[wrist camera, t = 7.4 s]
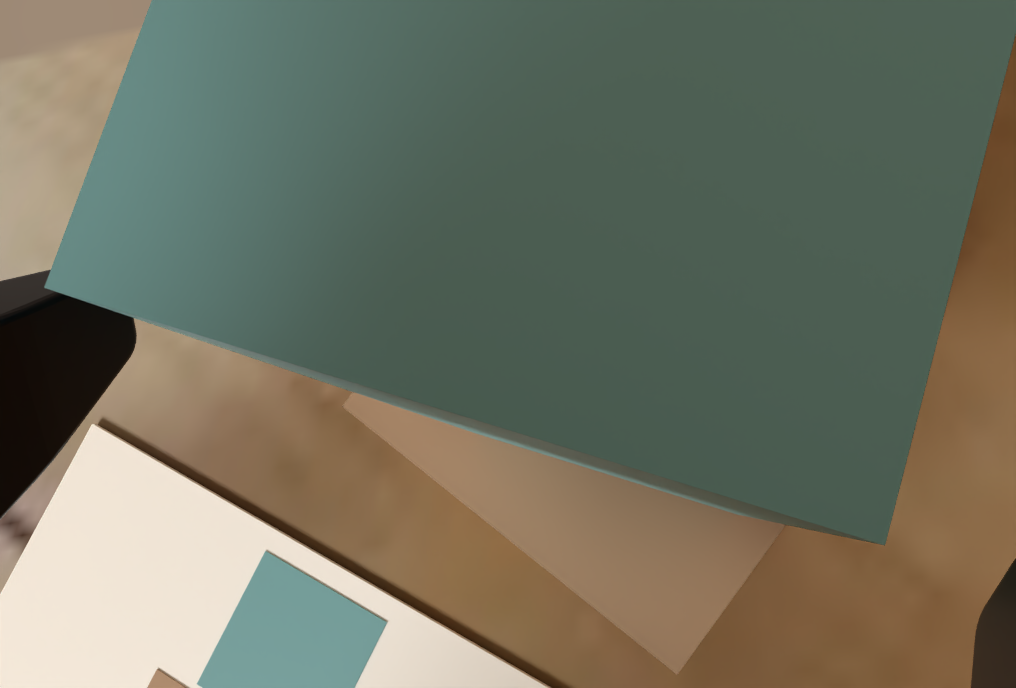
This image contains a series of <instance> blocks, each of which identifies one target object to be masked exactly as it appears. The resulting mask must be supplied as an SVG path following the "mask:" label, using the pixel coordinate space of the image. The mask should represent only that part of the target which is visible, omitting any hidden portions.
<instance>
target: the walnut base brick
mask: <svg viewBox="0 0 1016 688" xmlns="http://www.w3.org/2000/svg"><path fill="white" fill-rule="evenodd" d="M342 407H343V408H345V409H346V410H347V411H348V412H350V413H351V414H352V415H353V416H355V417H356V418H357V419H358V420H360V421H361V422H362V423H363V424H365V425H366V426H367V427H368V428H370V429H371V430H372V431H373V432H375V433H376V434H377V435H378V436H380V437H381V438H382V439H383V440H385V441H386V442H387V443H388V444H390V445H391V446H392V447H393V448H395V449H396V450H397V451H398V452H400V453H401V454H402V455H403V456H405V457H406V458H407V459H408V460H410V461H411V462H412V463H413V464H415V465H416V466H417V467H418V468H420V469H421V470H422V471H423V472H425V473H426V474H427V475H428V476H430V477H431V478H432V479H433V480H435V481H436V482H437V483H438V484H440V485H441V486H442V487H443V488H445V489H446V490H447V491H448V492H450V493H451V494H452V495H453V496H455V497H456V498H457V499H458V500H460V501H461V502H462V503H463V504H465V505H466V506H467V507H468V508H470V509H471V510H472V511H473V512H474V513H476V514H477V515H478V516H479V517H481V518H482V519H483V520H484V521H486V522H487V523H488V524H489V525H491V526H492V527H493V528H494V529H496V530H497V531H498V532H499V533H501V534H502V535H503V536H504V537H506V538H507V539H508V540H509V541H511V542H512V543H513V544H514V545H516V546H517V547H518V548H519V549H521V550H522V551H523V552H524V553H526V554H527V555H528V556H529V557H531V558H532V559H533V560H534V561H536V562H537V563H538V564H539V565H541V566H542V567H543V568H544V569H546V570H547V571H548V572H549V573H551V574H552V575H553V576H554V577H556V578H557V579H558V580H559V581H561V582H562V583H563V584H564V585H566V586H567V587H568V588H569V589H571V590H572V591H573V592H574V593H576V594H577V595H578V596H579V597H581V598H582V599H583V600H584V601H586V602H587V603H588V604H589V605H591V606H592V607H593V608H594V609H596V610H597V611H598V612H599V613H601V614H602V615H603V616H604V617H606V618H607V619H608V620H609V621H611V622H612V623H613V624H614V625H615V626H617V627H618V628H619V629H620V630H622V631H623V632H624V633H625V634H627V635H628V636H629V637H630V638H632V639H633V640H634V641H635V642H637V643H638V644H639V645H640V646H642V647H643V648H644V649H645V650H647V651H648V652H649V653H650V654H652V655H653V656H654V657H655V658H657V659H658V660H659V661H660V662H662V663H663V664H664V665H665V666H667V667H668V668H669V669H670V670H672V671H673V672H674V673H675V674H677V675H678V673H679V672H680V670H681V669H682V668H683V666H684V665H685V663H686V662H687V661H688V659H689V658H690V657H691V655H692V654H693V652H694V651H695V650H696V648H697V647H698V646H699V644H700V643H701V641H702V640H703V639H704V637H705V636H706V634H707V633H708V632H709V630H710V629H711V628H712V626H713V625H714V623H715V622H716V621H717V619H718V618H719V617H720V615H721V614H722V612H723V611H724V610H725V608H726V607H727V605H728V604H729V603H730V601H731V600H732V599H733V597H734V596H735V594H736V593H737V592H738V590H739V589H740V588H741V586H742V585H743V583H744V582H745V581H746V579H747V578H748V576H749V575H750V574H751V572H752V571H753V570H754V568H755V567H756V565H757V564H758V563H759V561H760V560H761V559H762V557H763V556H764V554H765V553H766V552H767V550H768V549H769V547H770V546H771V545H772V543H773V542H774V541H775V539H776V538H777V536H778V535H779V534H780V532H781V531H782V530H783V528H784V527H785V524H780V523H776V522H771V521H766V520H761V519H756V518H752V517H747V516H742V515H737V514H734V513H731V512H728V511H724V510H721V509H718V508H715V507H711V506H708V505H705V504H702V503H699V502H695V501H692V500H689V499H686V498H682V497H679V496H676V495H673V494H670V493H666V492H663V491H660V490H657V489H653V488H650V487H647V486H644V485H641V484H637V483H634V482H631V481H628V480H624V479H621V478H618V477H615V476H612V475H608V474H605V473H602V472H599V471H595V470H592V469H589V468H586V467H583V466H579V465H576V464H573V463H570V462H566V461H563V460H560V459H557V458H554V457H550V456H547V455H544V454H541V453H537V452H534V451H531V450H528V449H524V448H521V447H518V446H515V445H512V444H508V443H505V442H502V441H499V440H495V439H492V438H489V437H486V436H483V435H479V434H476V433H473V432H470V431H467V430H464V429H461V428H458V427H455V426H452V425H450V424H447V423H444V422H441V421H438V420H435V419H432V418H429V417H426V416H423V415H420V414H417V413H414V412H411V411H408V410H405V409H402V408H399V407H396V406H393V405H390V404H387V403H384V402H381V401H378V400H375V399H373V398H370V397H367V396H364V395H361V394H358V393H355V392H353V393H352V394H351V395H350V397H349V398H348V399H347V401H346V402H345V403H344V405H343V406H342Z"/></svg>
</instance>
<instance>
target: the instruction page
mask: <svg viewBox="0 0 1016 688" xmlns="http://www.w3.org/2000/svg"><path fill="white" fill-rule="evenodd" d="M0 688H551V687H550V686H548V685H546V684H545V683H543V682H541V681H539V680H538V679H536V678H534V677H532V676H531V675H529V674H527V673H526V672H524V671H522V670H520V669H519V668H517V667H515V666H513V665H512V664H510V663H508V662H507V661H505V660H503V659H501V658H500V657H498V656H496V655H494V654H493V653H491V652H489V651H487V650H486V649H484V648H482V647H481V646H479V645H477V644H475V643H474V642H472V641H470V640H468V639H467V638H465V637H463V636H462V635H460V634H458V633H456V632H455V631H453V630H451V629H449V628H448V627H446V626H444V625H443V624H441V623H439V622H437V621H436V620H434V619H432V618H430V617H429V616H427V615H425V614H424V613H422V612H420V611H418V610H417V609H415V608H413V607H411V606H410V605H408V604H406V603H405V602H403V601H401V600H399V599H398V598H396V597H394V596H392V595H391V594H389V593H387V592H386V591H384V590H382V589H380V588H379V587H377V586H375V585H373V584H372V583H370V582H368V581H366V580H365V579H363V578H361V577H360V576H358V575H356V574H354V573H353V572H351V571H349V570H347V569H346V568H344V567H342V566H341V565H339V564H337V563H335V562H334V561H332V560H330V559H328V558H327V557H325V556H323V555H322V554H320V553H318V552H316V551H315V550H313V549H311V548H309V547H308V546H306V545H304V544H303V543H301V542H299V541H297V540H296V539H294V538H292V537H290V536H289V535H287V534H285V533H284V532H282V531H280V530H278V529H277V528H275V527H273V526H271V525H270V524H268V523H266V522H265V521H263V520H261V519H259V518H258V517H256V516H254V515H252V514H251V513H249V512H247V511H246V510H244V509H242V508H240V507H239V506H237V505H235V504H233V503H232V502H230V501H228V500H226V499H225V498H223V497H221V496H220V495H218V494H216V493H214V492H213V491H211V490H209V489H207V488H206V487H204V486H202V485H201V484H199V483H197V482H195V481H194V480H192V479H190V478H188V477H187V476H185V475H183V474H182V473H180V472H178V471H176V470H175V469H173V468H171V467H169V466H168V465H166V464H164V463H163V462H161V461H159V460H157V459H156V458H154V457H152V456H150V455H149V454H147V453H145V452H144V451H142V450H140V449H138V448H137V447H135V446H133V445H131V444H130V443H128V442H126V441H125V440H123V439H121V438H119V437H118V436H116V435H114V434H112V433H111V432H109V431H107V430H105V429H104V428H102V427H100V426H99V425H97V424H92V425H91V427H90V429H89V431H88V433H87V435H86V436H85V438H84V440H83V442H82V444H81V446H80V448H79V449H78V451H77V453H76V455H75V457H74V459H73V461H72V462H71V464H70V466H69V468H68V470H67V472H66V474H65V475H64V477H63V479H62V481H61V483H60V485H59V486H58V488H57V490H56V492H55V494H54V496H53V498H52V499H51V501H50V503H49V505H48V507H47V509H46V511H45V512H44V514H43V516H42V518H41V520H40V522H39V524H38V525H37V527H36V529H35V531H34V533H33V535H32V537H31V538H30V540H29V542H28V544H27V546H26V548H25V549H24V551H23V553H22V555H21V557H20V559H19V561H18V562H17V564H16V566H15V568H14V570H13V572H12V574H11V575H10V577H9V579H8V581H7V583H6V585H5V587H4V588H3V590H2V592H1V594H0Z"/></svg>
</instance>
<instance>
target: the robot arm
mask: <svg viewBox="0 0 1016 688" xmlns="http://www.w3.org/2000/svg"><path fill="white" fill-rule="evenodd" d="M50 271H51V270H47V271H43V272H38V273H34V274H30V275H25V276H21V277H16V278H12V279H8V280H3V281H0V519H1V518H2V517H3V516H4V515H5V514H6V513H7V512H8V510H9V509H10V508H11V507H12V506H13V505H14V504H15V503H16V502H17V501H18V499H19V498H20V497H21V496H22V495H23V494H24V493H25V492H26V491H27V490H28V488H29V487H30V486H31V485H32V484H33V483H34V482H35V481H36V480H37V479H38V477H39V476H40V475H41V474H42V473H43V472H44V470H45V469H46V468H47V467H48V466H49V465H50V463H51V462H52V461H53V460H54V458H55V457H56V456H57V455H58V453H59V452H60V451H61V450H62V448H63V447H64V446H65V444H66V443H67V442H68V440H69V439H70V438H71V436H72V435H73V434H74V432H75V431H76V430H77V428H78V427H79V426H80V424H81V423H82V421H83V420H84V419H85V417H86V416H87V415H88V413H89V412H90V411H91V409H92V408H93V407H94V405H95V404H96V403H97V401H98V400H99V399H100V397H101V396H102V395H103V393H104V392H105V391H106V389H107V388H108V386H109V385H110V384H111V382H112V381H113V380H114V378H115V377H116V376H117V374H118V373H119V372H120V370H121V369H122V368H123V366H124V365H125V364H126V362H127V361H128V360H129V358H130V357H131V355H132V353H133V351H134V348H135V344H136V337H137V335H136V328H135V323H134V318H133V317H130V316H127V315H124V314H121V313H118V312H115V311H112V310H109V309H106V308H103V307H100V306H97V305H94V304H91V303H88V302H85V301H82V300H79V299H76V298H73V297H70V296H67V295H64V294H62V293H59V292H56V291H53V290H50V289H47V288H44V287H45V284H46V282H47V279H48V276H49V274H50ZM971 688H1016V559H1015V560H1014V561H1013V563H1012V564H1011V566H1010V568H1009V569H1008V571H1007V572H1006V574H1005V575H1004V577H1003V579H1002V580H1001V582H1000V583H999V585H998V586H997V588H996V590H995V591H994V593H993V594H992V596H991V598H990V599H989V601H988V602H987V604H986V605H985V607H984V609H983V611H982V613H981V615H980V618H979V621H978V624H977V629H976V635H975V645H974V657H973V669H972V680H971Z"/></svg>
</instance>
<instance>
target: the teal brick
mask: <svg viewBox="0 0 1016 688" xmlns="http://www.w3.org/2000/svg"><path fill="white" fill-rule="evenodd" d="M1015 35H1016V0H152V2H151V4H150V7H149V9H148V12H147V15H146V17H145V20H144V23H143V25H142V28H141V31H140V33H139V36H138V39H137V41H136V44H135V47H134V49H133V52H132V55H131V57H130V60H129V63H128V65H127V68H126V71H125V73H124V76H123V79H122V81H121V84H120V87H119V89H118V92H117V95H116V97H115V100H114V103H113V105H112V108H111V111H110V113H109V116H108V119H107V121H106V124H105V127H104V129H103V132H102V135H101V137H100V140H99V143H98V145H97V148H96V151H95V153H94V156H93V159H92V161H91V164H90V167H89V169H88V172H87V175H86V177H85V180H84V183H83V185H82V188H81V191H80V193H79V196H78V199H77V201H76V204H75V207H74V209H73V212H72V215H71V217H70V220H69V223H68V225H67V228H66V231H65V233H64V236H63V239H62V241H61V244H60V247H59V250H58V252H57V255H56V258H55V260H54V263H53V266H52V268H51V271H50V274H49V276H48V279H47V282H46V284H45V287H44V288H47V289H50V290H53V291H56V292H59V293H62V294H64V295H67V296H70V297H73V298H76V299H79V300H82V301H85V302H88V303H91V304H94V305H97V306H100V307H103V308H106V309H109V310H112V311H115V312H118V313H121V314H124V315H127V316H130V317H133V318H136V319H139V320H141V321H144V322H147V323H150V324H153V325H156V326H159V327H162V328H165V329H168V330H171V331H174V332H177V333H180V334H183V335H186V336H189V337H192V338H195V339H198V340H201V341H204V342H207V343H210V344H213V345H216V346H218V347H221V348H224V349H227V350H230V351H233V352H236V353H239V354H242V355H245V356H248V357H251V358H254V359H257V360H260V361H263V362H266V363H269V364H272V365H275V366H278V367H281V368H284V369H287V370H290V371H293V372H296V373H298V374H301V375H304V376H307V377H310V378H313V379H316V380H319V381H322V382H325V383H328V384H331V385H334V386H337V387H340V388H343V389H346V390H349V391H352V392H355V393H358V394H361V395H364V396H367V397H370V398H373V399H375V400H378V401H381V402H384V403H387V404H390V405H393V406H396V407H399V408H402V409H405V410H408V411H411V412H414V413H417V414H420V415H423V416H426V417H429V418H432V419H435V420H438V421H441V422H444V423H447V424H450V425H452V426H455V427H458V428H461V429H464V430H467V431H470V432H473V433H476V434H479V435H483V436H486V437H489V438H492V439H495V440H499V441H502V442H505V443H508V444H512V445H515V446H518V447H521V448H524V449H528V450H531V451H534V452H537V453H541V454H544V455H547V456H550V457H554V458H557V459H560V460H563V461H566V462H570V463H573V464H576V465H579V466H583V467H586V468H589V469H592V470H595V471H599V472H602V473H605V474H608V475H612V476H615V477H618V478H621V479H624V480H628V481H631V482H634V483H637V484H641V485H644V486H647V487H650V488H653V489H657V490H660V491H663V492H666V493H670V494H673V495H676V496H679V497H682V498H686V499H689V500H692V501H695V502H699V503H702V504H705V505H708V506H711V507H715V508H718V509H721V510H724V511H728V512H731V513H734V514H737V515H742V516H747V517H752V518H756V519H761V520H766V521H771V522H776V523H780V524H785V525H790V526H795V527H800V528H804V529H809V530H814V531H819V532H823V533H828V534H833V535H838V536H843V537H847V538H852V539H857V540H862V541H867V542H871V543H876V544H881V545H885V543H886V539H887V536H888V532H889V528H890V524H891V520H892V516H893V512H894V508H895V504H896V500H897V496H898V493H899V489H900V485H901V481H902V477H903V473H904V469H905V465H906V461H907V457H908V453H909V450H910V446H911V442H912V438H913V434H914V430H915V426H916V422H917V418H918V414H919V410H920V406H921V403H922V399H923V395H924V391H925V387H926V383H927V379H928V375H929V371H930V367H931V363H932V360H933V356H934V352H935V348H936V344H937V340H938V336H939V332H940V328H941V324H942V320H943V317H944V313H945V309H946V305H947V301H948V297H949V293H950V289H951V285H952V281H953V277H954V274H955V270H956V266H957V262H958V258H959V254H960V250H961V246H962V242H963V238H964V234H965V230H966V227H967V223H968V219H969V215H970V211H971V207H972V203H973V199H974V195H975V191H976V187H977V184H978V180H979V176H980V172H981V168H982V164H983V160H984V156H985V152H986V148H987V144H988V141H989V137H990V133H991V129H992V125H993V121H994V117H995V113H996V109H997V105H998V101H999V98H1000V94H1001V90H1002V86H1003V82H1004V78H1005V74H1006V70H1007V66H1008V62H1009V58H1010V55H1011V51H1012V47H1013V43H1014V39H1015Z"/></svg>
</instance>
